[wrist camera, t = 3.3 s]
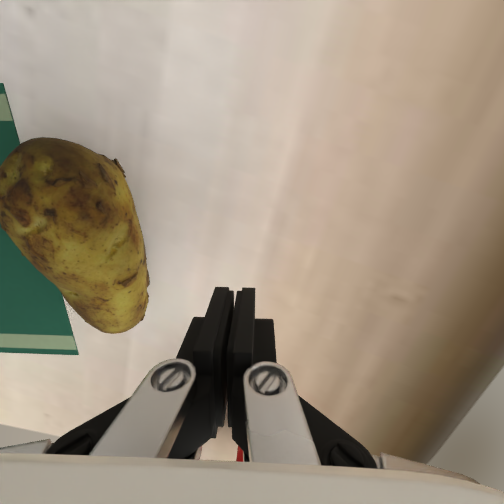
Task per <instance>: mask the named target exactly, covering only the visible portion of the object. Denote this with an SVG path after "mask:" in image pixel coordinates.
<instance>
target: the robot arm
mask: <svg viewBox="0 0 504 504" xmlns="http://www.w3.org/2000/svg"><path fill="white" fill-rule="evenodd" d="M227 404H228V427H232V439H233V440H234V441H235V442H236V443H237V445H238V446H239V447H240V448H241V449H242V450H243V462H237V461H214V460H199V459H200V456H201V450H202V445H203V444H204V443H205V442H207V441H208V440H209V439H210V438H216V434H217V428H218V427H223V426H224V420H225V413H226V405H227ZM0 504H504V492H502V491H500V490H497V489H494V488H490V487H487V486H483V485H481V484H479V483H478V482H476V481H475V480H474V479H472V478H469V477H467V476H464V475H462V474H459V473H455V472H452V471H447V470H444V469H441V468H437V467H433V466H429V465H426V464H422V463H418V462H415V461H411V460H407V459H403V458H400V457H396V456H392V455H389V454H385V453H381V454H380V457H378V456H374V455H371V454H370V453H369V451H368V450H367V449H366V448H365V447H364V446H363V445H362V444H360V443H359V442H358V441H357V440H355V439H354V438H353V437H351V436H350V435H349V434H348V433H346V432H345V431H344V430H342V429H341V428H340V427H339V426H337V425H336V424H335V423H333V422H332V421H331V420H329V419H328V418H327V417H326V416H324V415H323V414H322V413H320V412H319V411H318V410H317V409H315V408H314V407H313V406H311V405H310V404H309V403H308V402H306V401H305V400H304V399H302V398H301V397H300V396H298V394H297V391H296V388H295V385H294V382H293V379H292V376H291V374H290V373H289V371H288V370H287V369H286V368H285V367H283V366H281V365H280V364H278V363H277V362H276V349H275V336H274V323H273V319H255V288H242V291H237V295H236V301H235V306H234V291H229V287H215V290H214V292H213V295H212V298H211V301H210V304H209V307H208V309H207V312H206V315H205V317H194V318H193V319H192V322H191V324H190V326H189V329H188V331H187V333H186V336H185V338H184V341H183V343H182V345H181V348H180V350H179V352H178V355H177V357H176V359H170V360H166V361H163V362H161V363H159V364H157V365H156V366H154V367H153V368H152V369H151V370H150V371H149V372H148V374H147V375H146V377H145V378H144V379H143V381H142V382H141V384H140V385H139V386H138V388H137V389H136V390H135V392H134V393H133V395H132V396H131V397H130V398H128V399H126V400H125V401H123V402H121V403H119V404H117V405H116V406H114V407H112V408H110V409H108V410H107V411H105V412H103V413H101V414H100V415H98V416H96V417H94V418H92V419H91V420H89V421H87V422H85V423H84V424H82V425H80V426H78V427H76V428H75V429H73V430H71V431H69V432H68V433H66V434H65V435H63V436H62V437H60V438H59V439H58V440H57V441H56V442H55V443H51V441H50V439H47V440H41V441H36V442H30V443H25V444H19V445H14V446H8V447H3V448H0Z"/></svg>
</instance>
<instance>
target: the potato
mask: <svg viewBox="0 0 504 504" xmlns="http://www.w3.org/2000/svg"><path fill="white" fill-rule="evenodd" d="M124 173H125V172H124V170H123V169H122V167H121V166H120V164H119V162H118V161H117V159H114V161H113V160H112V161H111V160H110V159H108V158H107V157H106V156H104V155H100V154H97V153H95V152H93V151H91V150H89V149H87V148H85V147H83V146H81V145H79V144H76V143H73V142H70V141H66V140H61V139H57V138H44V137H41V138H34V139H30V140H28V141H26V142H23V143H21V144H20V145H19V146H17V147H16V148H15V149H14V150H13V151H12V152H11V153H10V154H9V155H8V157H7V158H6V159H5V160H4V162H3V163H2V165H1V166H0V224H1V228H2V229H3V230H4V231H6V233H7V234H8V235H9V237H10V238H11V240H12V241H13V242H14V243H15V245H16V246H17V247H18V248H19V249H20V251H21V254H22V256H25V257H26V258H27V259H28V260H29V261H30V262H31V264H32V265H33V266H34V267H35V268H36V269H37V270H38V271H39V272H41V273H42V274H43V275H44V276H45V277H46V278H47V279H48V280H50V281H51V282H52V283H54V284H55V285H56V286H57V288H58V289H59V290H60V292H61V293H62V295H63V296H64V298H65V299H66V301H67V302H68V303H69V305H70V306H71V307H72V308H73V309H74V310H75V311H76V312H77V313H78V314H79V315H80V316H81V317H82V318H83V319H84V320H85V322H87V323H89V324H90V325H91V326H93V327H95V328H96V329H98V330H100V331H102V332H105V333H111V334H114V333H122V332H125V331H128V330H130V329H131V328H133V327H134V326H136V325H137V324H138V323H139V322H140V321H142V320H143V318H144V316H145V311H146V308H147V303H148V297H149V295H148V293H147V287H148V286H149V282H150V281H149V274H148V270H147V264H146V259H147V258H146V253H145V245H144V241H143V236H142V231H141V228H140V224H139V220H138V217H137V214H136V210H135V206H134V202H133V198H132V195H131V192H130V190H129V187H128V185H127V182H126V180H125V177H126V176H125V175H124Z"/></svg>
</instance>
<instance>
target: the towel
mask: <svg viewBox="0 0 504 504" xmlns="http://www.w3.org/2000/svg"><path fill="white" fill-rule="evenodd" d="M19 145H20V142H19V138H18V135H17V131H16V127H15V124H14V120H13V117H12V113H11V109H10V106H9V102H8V99H7V95H6V92H5V88H4V84H3V83H0V166H1V165H2V163H3V162H4V160H5V159H6V158H7V157H8V155H9V154H10V153H11V152H12V151H13V150H14V149H15V148H16V147H17V146H19ZM0 352H5V353H33V354H62V355H79V354H78V350H77V347H76V343H75V339H74V336H73V332H72V329H71V325H70V321H69V318H68V314H67V311H66V307H65V303H64V300H63V296H62V293H61V292H60V290H59V289H58V288H57V286H56V285H55V284H54V283H52V282H51V281H50V280H48V279H47V278H46V277H45V276H44V275H43V274H42V273H41V272H39V271H38V270H37V269H36V268H35V267H34V266H33V265H32V264H31V262H30V261H29V260H28V259H27V258H26V257H25V256H22V254H21V251H20V249H19V248H18V247H17V246H16V245H15V243H14V242H13V241H12V240H11V238H10V237H9V235H8V234H7V233H6V231H4V230H3V229H2V228H1V224H0Z"/></svg>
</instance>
